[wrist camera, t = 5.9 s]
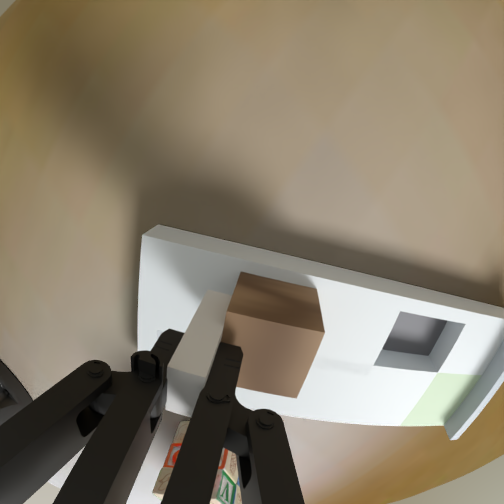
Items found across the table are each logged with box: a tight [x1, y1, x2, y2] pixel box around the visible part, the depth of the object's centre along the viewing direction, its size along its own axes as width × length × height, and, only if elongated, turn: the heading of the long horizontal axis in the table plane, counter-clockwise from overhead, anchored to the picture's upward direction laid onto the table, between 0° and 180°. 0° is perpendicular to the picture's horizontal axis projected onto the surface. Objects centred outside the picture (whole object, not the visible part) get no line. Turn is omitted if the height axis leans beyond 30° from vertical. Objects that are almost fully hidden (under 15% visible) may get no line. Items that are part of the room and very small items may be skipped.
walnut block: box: [221, 272, 325, 399], centre depth 16 cm, size 4×4×4 cm
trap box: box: [138, 224, 504, 440], centre depth 19 cm, size 29×12×4 cm, turn 78°
